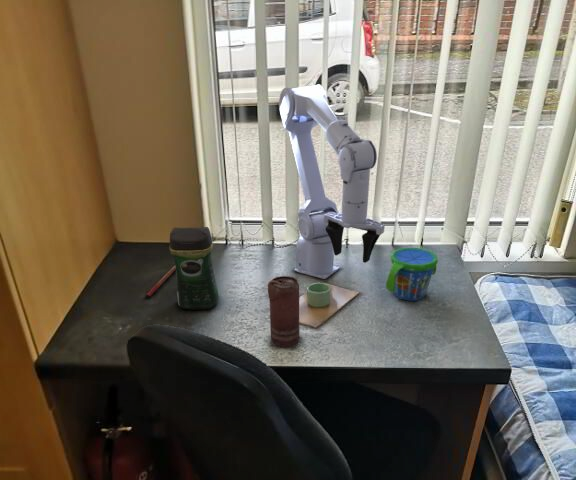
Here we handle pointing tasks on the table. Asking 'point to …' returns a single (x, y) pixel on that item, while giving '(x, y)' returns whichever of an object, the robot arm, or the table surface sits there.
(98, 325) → the table surface
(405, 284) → the snack cup
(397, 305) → the table surface
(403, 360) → the table surface
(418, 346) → the table surface
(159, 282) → the pencil
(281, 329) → the can
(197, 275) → the coffee jar
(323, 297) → the bowl
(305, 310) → the mat
